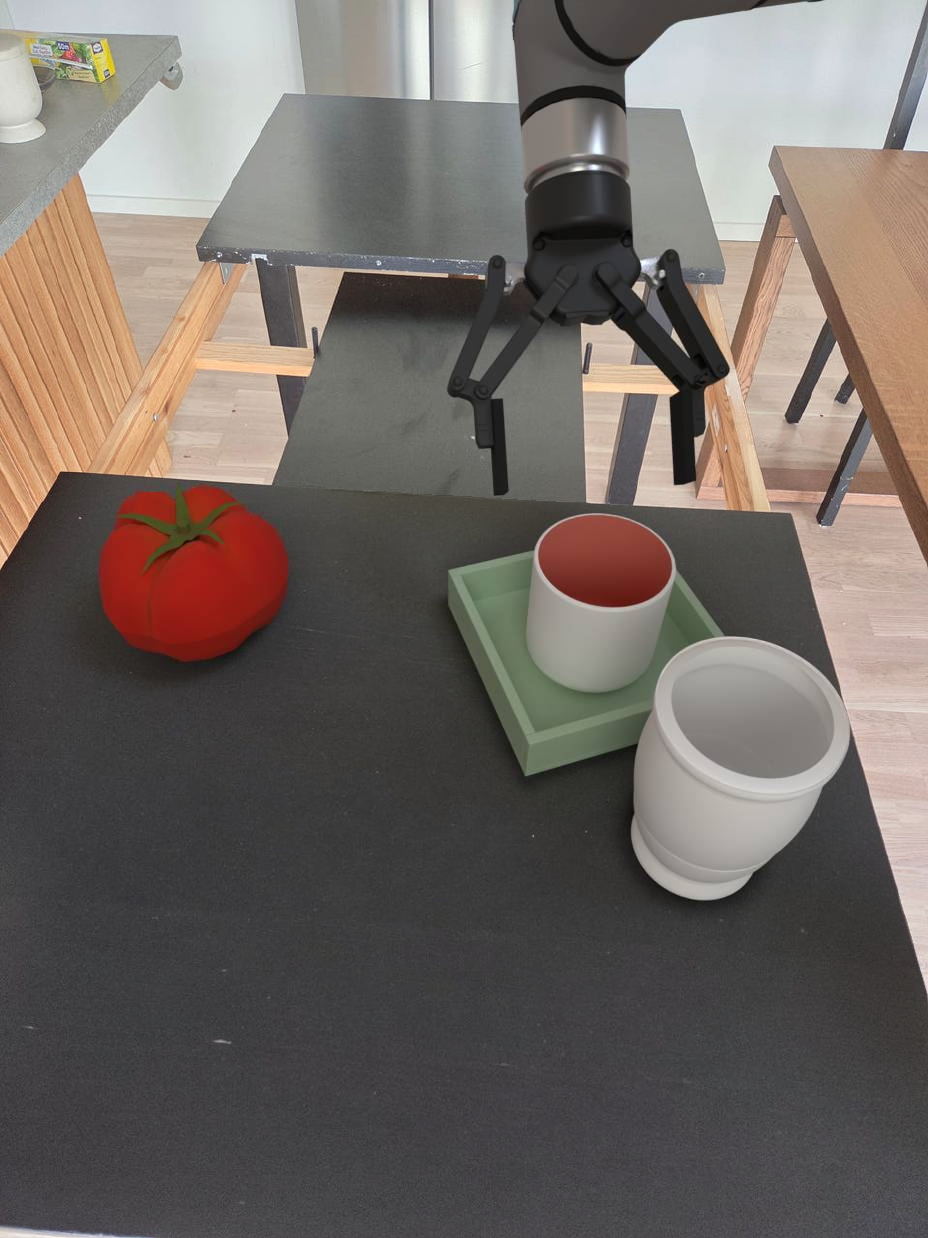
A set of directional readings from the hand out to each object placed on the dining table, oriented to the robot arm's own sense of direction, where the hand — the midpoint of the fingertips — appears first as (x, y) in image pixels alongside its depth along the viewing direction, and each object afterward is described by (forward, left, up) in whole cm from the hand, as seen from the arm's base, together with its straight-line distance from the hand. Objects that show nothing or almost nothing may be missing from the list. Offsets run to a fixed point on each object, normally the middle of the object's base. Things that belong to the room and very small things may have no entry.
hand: (593, 488), depth 61 cm
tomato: (+8, +29, -13) cm, 33 cm away
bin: (-5, +1, -13) cm, 14 cm away
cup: (-5, +1, -12) cm, 13 cm away
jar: (-22, +1, -13) cm, 26 cm away
